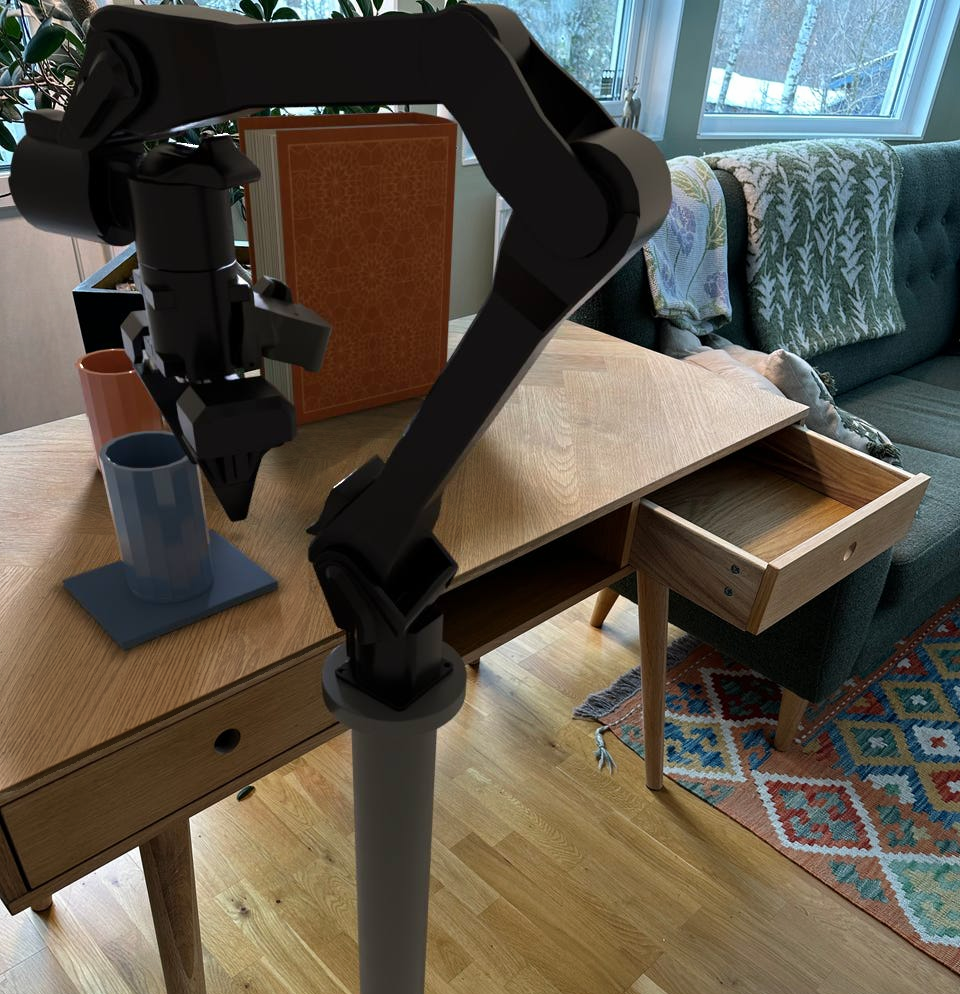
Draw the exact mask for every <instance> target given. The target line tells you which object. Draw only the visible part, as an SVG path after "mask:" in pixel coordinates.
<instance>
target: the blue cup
mask: <svg viewBox="0 0 960 994" xmlns="http://www.w3.org/2000/svg"><path fill="white" fill-rule="evenodd" d="M98 455H99V460H100V465H101V469H102V473H101V475H102V479H103V482H104V487H105V492H106V496H107V501H108V506H109V511H110V515H111V519H112V524H113V529H114V533H115V538H116V543H117V547H118V548H117V549H118V552H119V558H120V560H121V562H122V566H123V571H124V575H125V580H126V582H127V586H128V589H129V591H130V593H131V594H132V595H133V596H135V597H136V598H138V599H140V600H143V601H146V602H149V603H156V604H171V603H178V602H183V601H187V600H190V599H192V598H195V597H197V596H199V595H201V594H202V593H204V592H205V591H206V590H207V589H208V588H209V587H210V586H211V585H212V583H213V580H214V572H213V570H214V567H213V559H212V552H211V545H210V538H209V531H208V530H209V525H208V517H207V512H206V511H207V510H206V504H205V498H204V497H205V496H204V489H203V484H202V482H203V481H202V476H201V469H200V467H199V466H198V464H196V465H193V464H192V463H191V462H190V461H189V459H188V457H187V456H186V454H185V452H184V451H183V449H182V447H181V446H180V444H179V442H178V441H177V439H176V437H175V436H174V434H173V432H172V431H168V430H165V431H141V432H135V433H129V434H125V435H122V436H120V437H117V438H114V439H112V440H110V441H109V442H107V443H106V444H105V445H103V446H102V447H101V450H100V452H99V454H98Z"/></svg>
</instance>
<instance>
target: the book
mask: <svg viewBox="0 0 960 994" xmlns="http://www.w3.org/2000/svg"><path fill="white" fill-rule="evenodd" d="M236 120H237V130H238V142H239V150H240V151H241V152H242V153H243V154H245V155H246V156H247V157H248V158H249V159H250V160H251V161H252V162H253V163H254V164H255V165H256V166H257V167H258V168H259V170H260V171H261V178H260V180H259V181H257V182H254V183H250V184H246V185H242V186H243V198H244V208H245V209H244V210H245V219H246V221H245V222H246V233H247V244H248V254H249V265H250V277H251V287H253V286H254V285H255V284H256V283H257V282H258V280H259V279H260V278H261V277H262V276H263V275H265V276H269V277H272V278H275V279H279V280H281V281H283V282H284V283H285V284H287V285H288V286H289V287H290V288H291V292H292V298H293V303H294V304H296V303H300V304H302V305H303V306H304V307H306V308H308V309H310V310H312V311H314V312H315V313H316V314H318V315H319V316H320V317H321V318H323V319H324V320H325V321H326V322H328V323H329V324H330V325H331V326H332V330H331V334H330V337H329V341H328V344H327V348H326V351H325V355H324V358H323V362H322V365H321V369H320V372H318V373H314V372H309V371H305V370H304V369H303V367H301V366H297V365H292V364H288V363H284V362H280V361H275V360H271V359H268V358H265V357H262V364H263V368H259V376H262V377H263V378H265V379H266V380H267V381H268V382H270V383H271V384H272V385H273V386H275V387H276V388H277V389H278V390H279V391H280V392H281V393H282V394H283V395H284V396H285V397H286V398H287V399H288V400H289V401H290V403H291V404H292V405H293V406H294V407H295V408H296V420H297V426H301V425H305V424H309V423H313V422H317V421H321V420H325V419H329V418H333V417H338V416H342V415H346V414H350V413H355V412H358V411H364V410H368V409H371V408H375V407H380V406H383V405H388V404H392V403H396V402H400V401H404V400H408V399H413V398H417V397H420V396H421V397H422V396H427V394H428V392H429V391H430V389H431V388H432V386H433V384H434V383H435V381H436V380H437V378H438V376H439V375H440V373H441V371H442V370H443V368H444V367H445V365H446V363H447V362H448V353H449V352H448V351H449V350H448V348H449V330H450V329H449V327H450V306H451V304H450V303H451V283H452V279H451V278H452V261H453V259H452V258H453V238H454V237H453V234H454V217H455V216H454V214H455V213H454V212H455V193H456V169H457V145H458V125H459V123H458V122H457V121H456V120H453V119H450V118H446V117H442V116H440V115H435V114H429V113H423V112H416V111H403V112H401V111H400V112H396V111H395V112H373V113H372V112H369V113H368V112H367V113H363V112H362V113H337V114H335V113H334V114H331V113H330V114H301V115H300V114H299V115H268V116H244V117H241V118H237V119H236Z"/></svg>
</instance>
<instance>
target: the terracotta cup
mask: <svg viewBox="0 0 960 994" xmlns="http://www.w3.org/2000/svg"><path fill="white" fill-rule="evenodd" d="M143 359H144V358H143ZM74 366H75V371H76V377H77V381H78V385H79V390H80V394H81V398H82V402H83V408H84V412H85V417H86V422H87V426H88V429H89V431H88V432H89V435H90V440H91V444H92V449H93V453H94V459H95V462H96V465H97V469H98V471H99V472H100V474H102V469H101V465H100V460H99V455H98V454H99V452H100V450H101V447H102V446H103V445H105V444H106V443H107V442H109V441H110V440H112V439H114V438H117V437H120V436H122V435H125V434H129V433H135V432H141V431H166V430H165V426H164V417H163V416H162V414H161V412H160V411H159V409H158V407H157V406H156V404H155V402H154V401H153V399H152V397H151V396H150V394H149V393H148V391H147V389H146V388H145V386H144V384H143V383H142V381H141V379H140V378H139V376H138V374H137V373H136V371H135V370H134V368H133V366H132V361H131V359H130V358H129V357H128V355H127V354H126V352H125V348H108V349H100V350H96V351H92V352H88V353H86V354H84V355H82V356H80V357H78V358H77V359H76V361H75V363H74Z"/></svg>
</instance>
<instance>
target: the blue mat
mask: <svg viewBox="0 0 960 994" xmlns="http://www.w3.org/2000/svg"><path fill="white" fill-rule="evenodd" d="M208 531H209V538H210V545H211V552H212V559H213V567H214V570H213V572H214V580H213V583H212V585H211V586H210V587H209V588H208V589H207V590H206V591H205V592H204V593H202V594H201V595H199V596H197V597H195V598H192V599H190V600H187V601H183V602H178V603H171V604H156V603H149V602H146V601H143V600H140V599H138V598H136V597H135V596H133V595H132V594H131V593H130V591H129V589H128V586H127V582H126V580H125V575H124V571H123V566H122V562H121V559H119V560H117V561H114V562H111V563H108V564H105V565H102V566H99V567H96V568H93V569H91V570H88V571H84V572H81V573H79V574H76V575H73V576H70V577H67V578H64V579H62V581H61V582H62V585H63V588H64V589H65V590H66V591H67V592H68V593H69V594H70V595H71V597H73V599H74V600H75V601H76V602H77V603H78V604H79V605H80V606H81V607H82V608H83V609H84V610H85V611H86V613H88V614H89V615H90V616H91V618H92V619H93V620H95V621H96V623H97V624H98V625H99V626H100V627H101V628H102V629H103V631H105V632H106V633H107V635H109V637H110V638H111V639H112V640H113V641H114V642H115V643H116V644H117V645H118V646H119V647H120V648H121V649H122V650H123V651H126V650H129V649H132V648H133V647H136V646H138V645H141V644H144V643H146V642H148V641H151V640H153V639H156V638H159V637H162V636H164V635H166V634H168V633H171V632H173V631H176V630H178V629H181V628H184V627H185V626H188V625H190V624H191V625H192V624H193V623H195V622H199V621H200V620H203V619H205V618H209V617H211V616H213V615H215V614H218V613H220V612H223V611H225V610H228V609H231V608H233V607H235V606H238V605H241V604H243V603H245V602H248V601H250V600H252V599H255V598H258V597H260V596H263V595H265V594H268V593H269V592H273V591H275V590H277V589H279V580H277V578H275V577H274V576H272V575H271V574H270V573H268V572H267V571H266V570H265V569H264V568H262V567H261V566H259V564H257V563H256V562H255V561H253V560H252V559H251V558H249V557H248V556H247V555H246V554H245V553H243V552H242V551H241V550H240V549H239V548H237V547H236V546H235V545H233V544H232V543H230V542H229V541H228V540H227V539H226V538H224V537H223V536H222V535H220V533H219V532H217V531H215V530H214V529H213V528H211V529H208Z"/></svg>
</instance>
